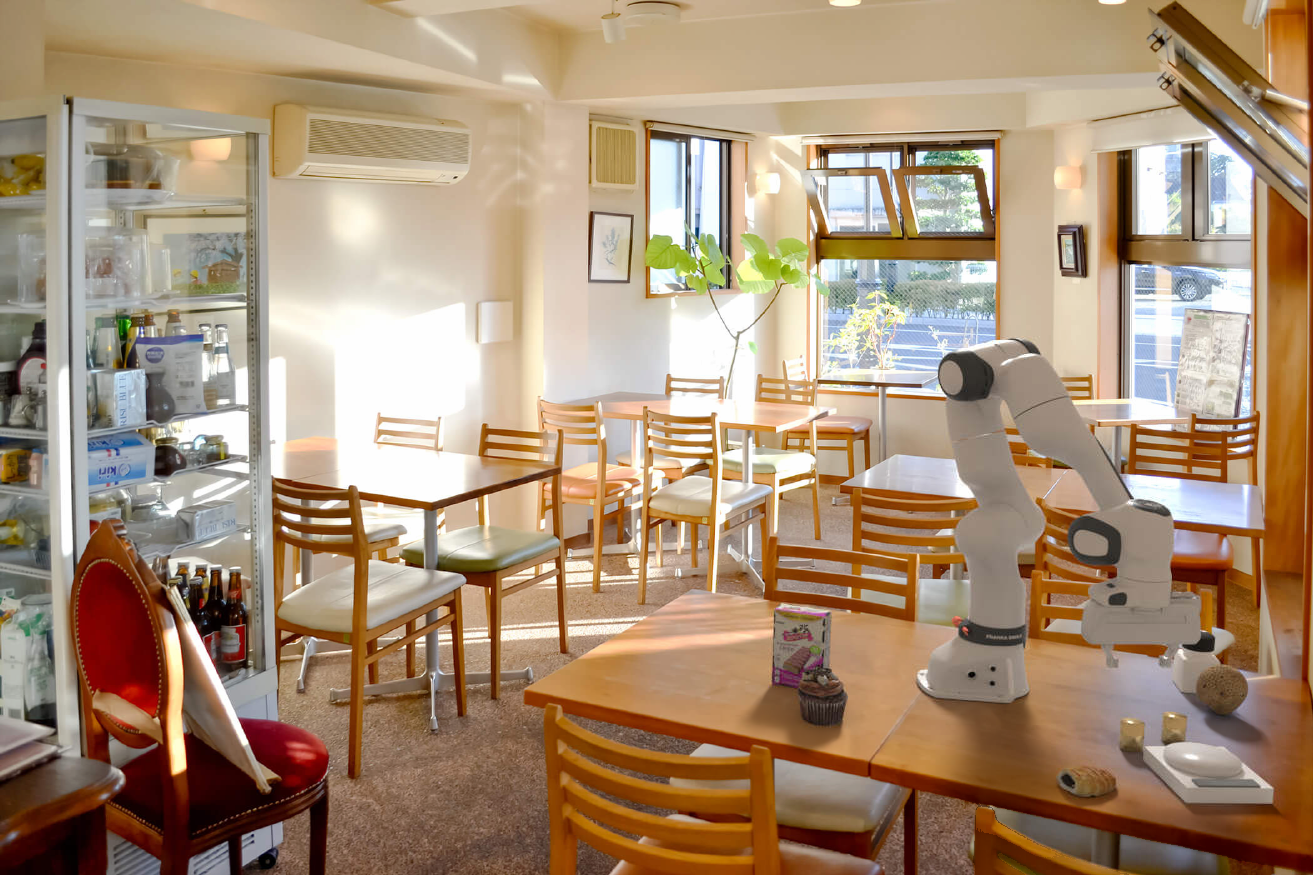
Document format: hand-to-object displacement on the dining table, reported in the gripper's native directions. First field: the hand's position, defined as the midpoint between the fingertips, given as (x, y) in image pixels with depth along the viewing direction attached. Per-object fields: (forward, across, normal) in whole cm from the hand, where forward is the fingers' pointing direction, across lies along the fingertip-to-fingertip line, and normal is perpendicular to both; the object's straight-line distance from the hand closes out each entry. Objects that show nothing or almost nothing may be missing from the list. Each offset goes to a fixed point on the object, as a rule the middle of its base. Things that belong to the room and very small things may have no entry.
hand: (1138, 666), depth 197 cm
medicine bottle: (+16, -26, -30) cm, 42 cm away
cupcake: (+15, +54, -13) cm, 58 cm away
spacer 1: (+15, 0, 0) cm, 15 cm away
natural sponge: (+16, -24, -16) cm, 32 cm away
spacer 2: (+15, -9, -3) cm, 18 cm away
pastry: (+16, +15, +16) cm, 27 cm away
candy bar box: (+15, +56, -30) cm, 66 cm away
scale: (+15, -6, +13) cm, 21 cm away
